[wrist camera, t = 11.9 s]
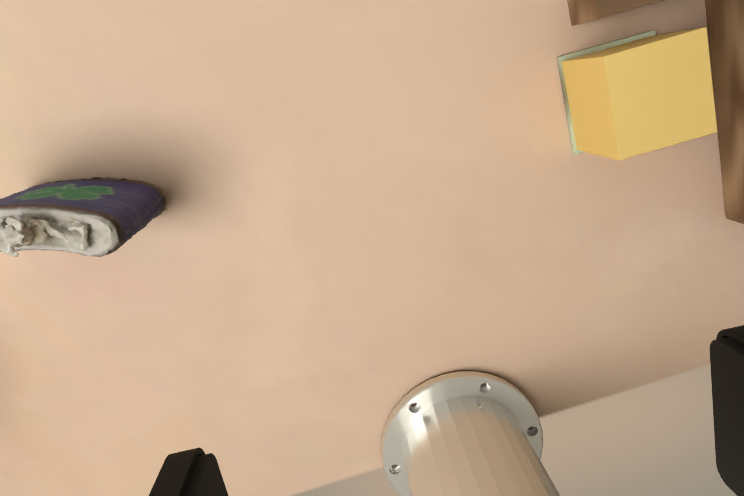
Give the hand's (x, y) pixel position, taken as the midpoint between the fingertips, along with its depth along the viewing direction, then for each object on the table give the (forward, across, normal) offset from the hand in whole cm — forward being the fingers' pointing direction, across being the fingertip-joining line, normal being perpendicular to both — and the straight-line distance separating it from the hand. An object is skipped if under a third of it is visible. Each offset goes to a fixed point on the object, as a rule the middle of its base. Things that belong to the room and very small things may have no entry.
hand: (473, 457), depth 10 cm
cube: (+30, -17, -3) cm, 35 cm away
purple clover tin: (+30, +18, -3) cm, 35 cm away
